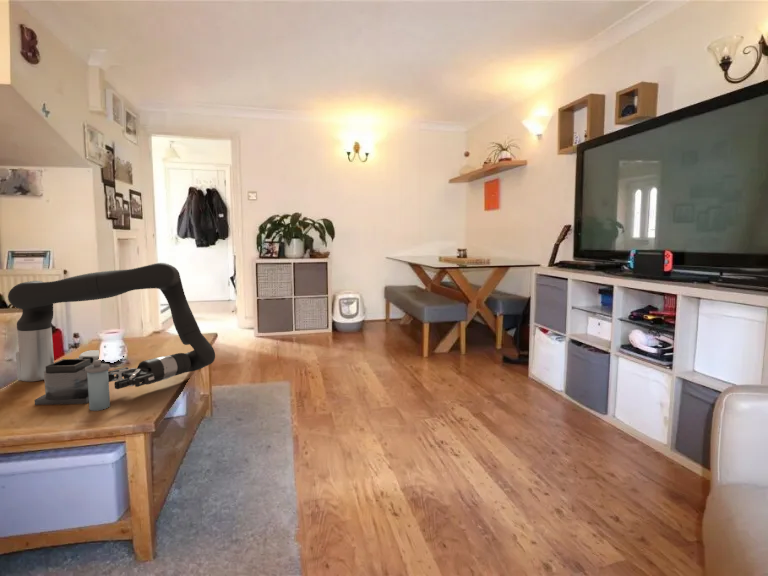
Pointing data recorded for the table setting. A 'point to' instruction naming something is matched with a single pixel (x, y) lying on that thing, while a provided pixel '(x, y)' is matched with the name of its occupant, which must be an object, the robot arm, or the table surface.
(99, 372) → the grey lidded canister
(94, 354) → the robot toy
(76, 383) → the dark grey holder
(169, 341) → the table surface
